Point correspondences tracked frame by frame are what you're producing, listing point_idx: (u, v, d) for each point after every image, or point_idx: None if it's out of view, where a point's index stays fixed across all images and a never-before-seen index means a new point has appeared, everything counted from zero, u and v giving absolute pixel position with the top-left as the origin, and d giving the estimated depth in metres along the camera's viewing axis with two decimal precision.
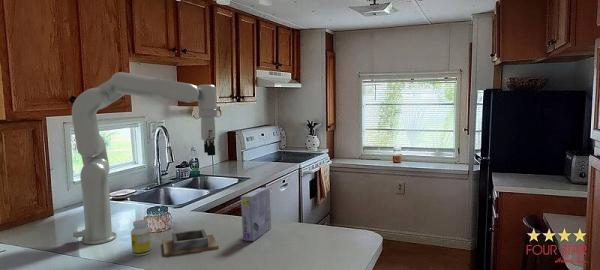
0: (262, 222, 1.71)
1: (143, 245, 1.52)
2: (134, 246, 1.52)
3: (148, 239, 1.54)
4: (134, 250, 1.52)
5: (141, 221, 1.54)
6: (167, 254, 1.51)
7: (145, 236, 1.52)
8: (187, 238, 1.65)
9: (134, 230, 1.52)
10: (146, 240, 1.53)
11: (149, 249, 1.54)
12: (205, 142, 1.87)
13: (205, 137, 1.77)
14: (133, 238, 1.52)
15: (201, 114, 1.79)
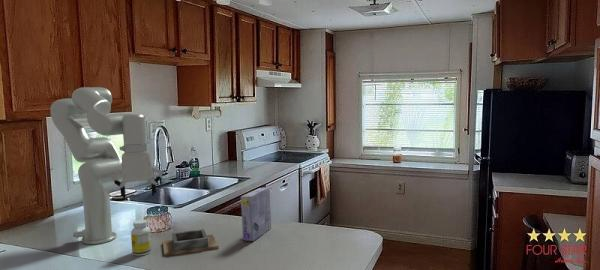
0: (262, 222, 1.71)
1: (143, 245, 1.52)
2: (134, 246, 1.52)
3: (148, 239, 1.54)
4: (134, 250, 1.52)
5: (141, 221, 1.54)
6: (167, 254, 1.51)
7: (145, 236, 1.52)
8: (187, 238, 1.65)
9: (134, 230, 1.52)
10: (146, 240, 1.53)
11: (149, 249, 1.54)
12: (123, 186, 1.50)
13: (152, 175, 1.52)
14: (133, 238, 1.52)
15: (142, 149, 1.49)
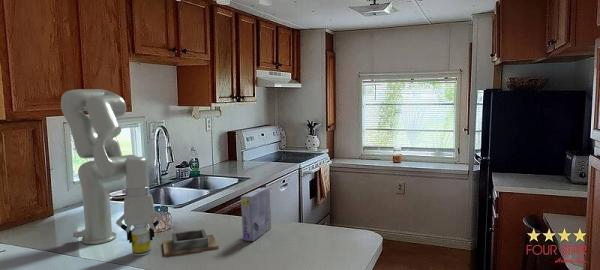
0: (262, 222, 1.71)
1: (143, 245, 1.52)
2: (134, 246, 1.52)
3: (148, 239, 1.54)
4: (134, 250, 1.52)
5: None
6: (167, 254, 1.51)
7: (145, 236, 1.52)
8: (187, 238, 1.65)
9: (134, 230, 1.52)
10: (146, 240, 1.53)
11: (149, 249, 1.54)
12: (129, 230, 1.52)
13: (154, 217, 1.53)
14: (133, 238, 1.52)
15: (144, 193, 1.51)
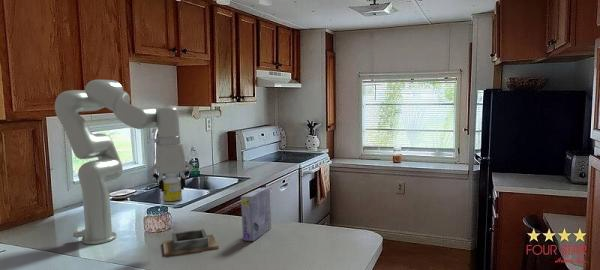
0: (262, 222, 1.71)
1: (175, 193, 1.54)
2: (166, 194, 1.54)
3: (179, 188, 1.56)
4: (166, 198, 1.54)
5: None
6: (167, 254, 1.51)
7: (177, 185, 1.54)
8: (187, 238, 1.65)
9: (166, 179, 1.54)
10: (178, 189, 1.55)
11: (180, 198, 1.56)
12: (161, 178, 1.54)
13: (185, 167, 1.56)
14: (165, 187, 1.54)
15: (176, 141, 1.53)
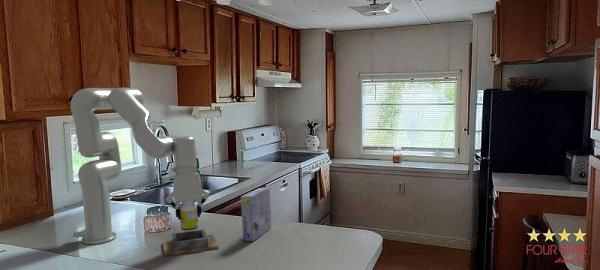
0: (262, 222, 1.71)
1: (192, 221, 1.57)
2: (183, 222, 1.57)
3: (196, 216, 1.59)
4: (183, 226, 1.57)
5: None
6: (167, 254, 1.51)
7: (194, 213, 1.57)
8: (187, 238, 1.65)
9: (183, 207, 1.57)
10: (194, 216, 1.58)
11: (197, 225, 1.59)
12: (178, 207, 1.57)
13: None
14: (182, 215, 1.57)
15: (193, 170, 1.56)
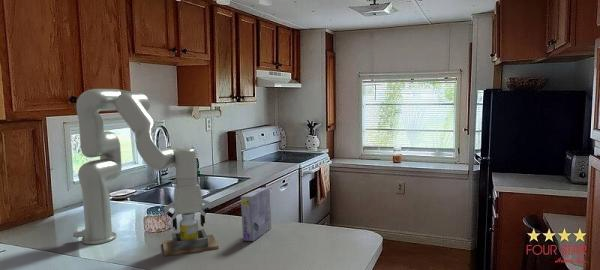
0: (262, 222, 1.71)
1: (192, 236, 1.58)
2: (183, 237, 1.57)
3: (196, 230, 1.59)
4: (183, 240, 1.58)
5: (189, 213, 1.60)
6: (167, 254, 1.51)
7: (194, 227, 1.58)
8: None
9: (183, 221, 1.58)
10: (195, 231, 1.58)
11: None
12: (175, 217, 1.57)
13: (202, 207, 1.59)
14: (182, 229, 1.57)
15: (193, 183, 1.56)
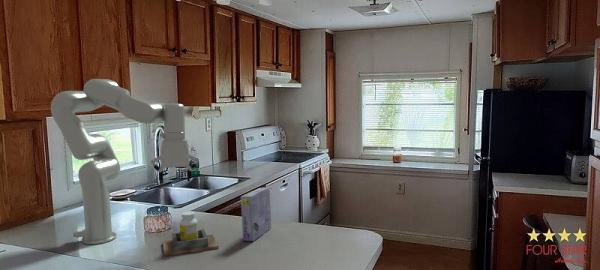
0: (262, 222, 1.71)
1: (192, 236, 1.58)
2: (183, 237, 1.57)
3: (196, 230, 1.59)
4: (183, 240, 1.58)
5: (189, 213, 1.60)
6: (167, 254, 1.51)
7: (194, 227, 1.58)
8: None
9: (183, 221, 1.58)
10: (194, 231, 1.58)
11: None
12: (161, 170, 1.59)
13: None
14: (182, 229, 1.57)
15: (181, 137, 1.58)
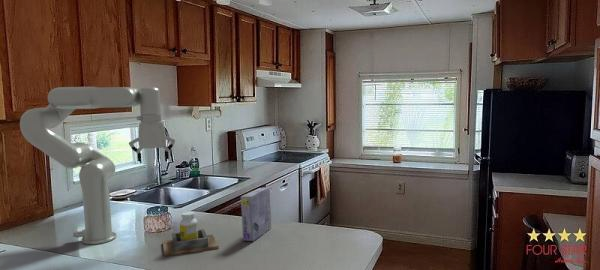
0: (262, 222, 1.71)
1: (192, 236, 1.58)
2: (183, 237, 1.57)
3: (196, 230, 1.59)
4: (183, 240, 1.58)
5: (189, 213, 1.60)
6: (167, 254, 1.51)
7: (194, 227, 1.58)
8: None
9: (183, 221, 1.58)
10: (194, 231, 1.58)
11: None
12: (139, 152, 1.67)
13: (165, 142, 1.69)
14: (182, 229, 1.57)
15: (157, 119, 1.66)
